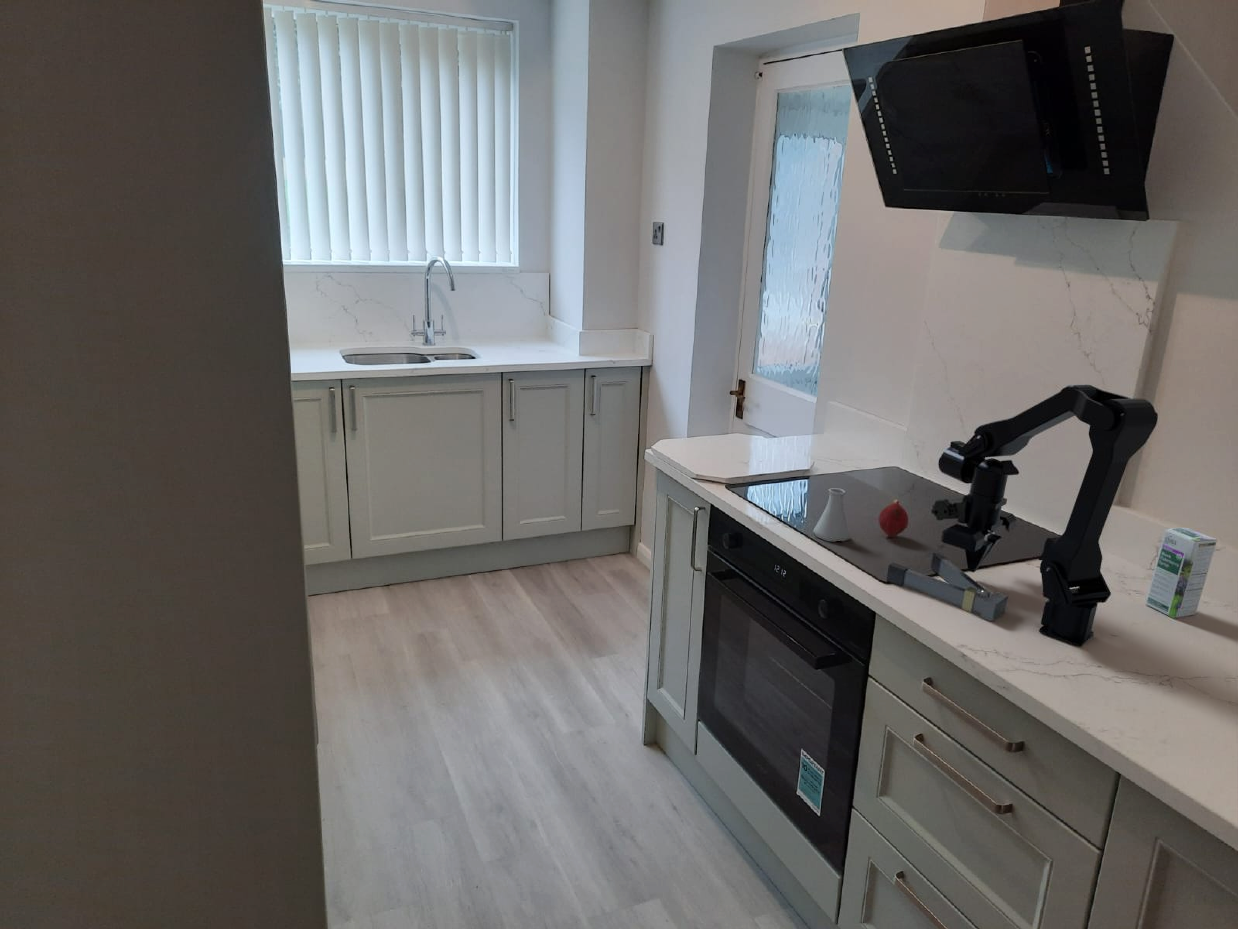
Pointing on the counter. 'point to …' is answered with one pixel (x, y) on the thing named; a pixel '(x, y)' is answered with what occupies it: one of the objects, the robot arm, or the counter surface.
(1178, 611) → the syrup box
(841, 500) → the flask
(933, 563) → the tongs arm
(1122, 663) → the counter surface
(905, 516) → the onion
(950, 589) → the tongs
